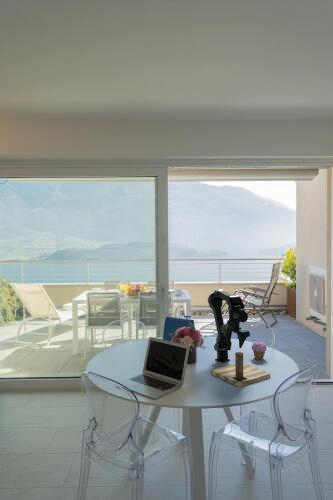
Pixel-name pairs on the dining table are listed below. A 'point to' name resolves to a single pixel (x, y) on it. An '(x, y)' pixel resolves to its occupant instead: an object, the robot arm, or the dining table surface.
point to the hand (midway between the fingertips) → (234, 346)
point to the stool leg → (239, 366)
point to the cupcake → (259, 349)
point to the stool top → (249, 374)
